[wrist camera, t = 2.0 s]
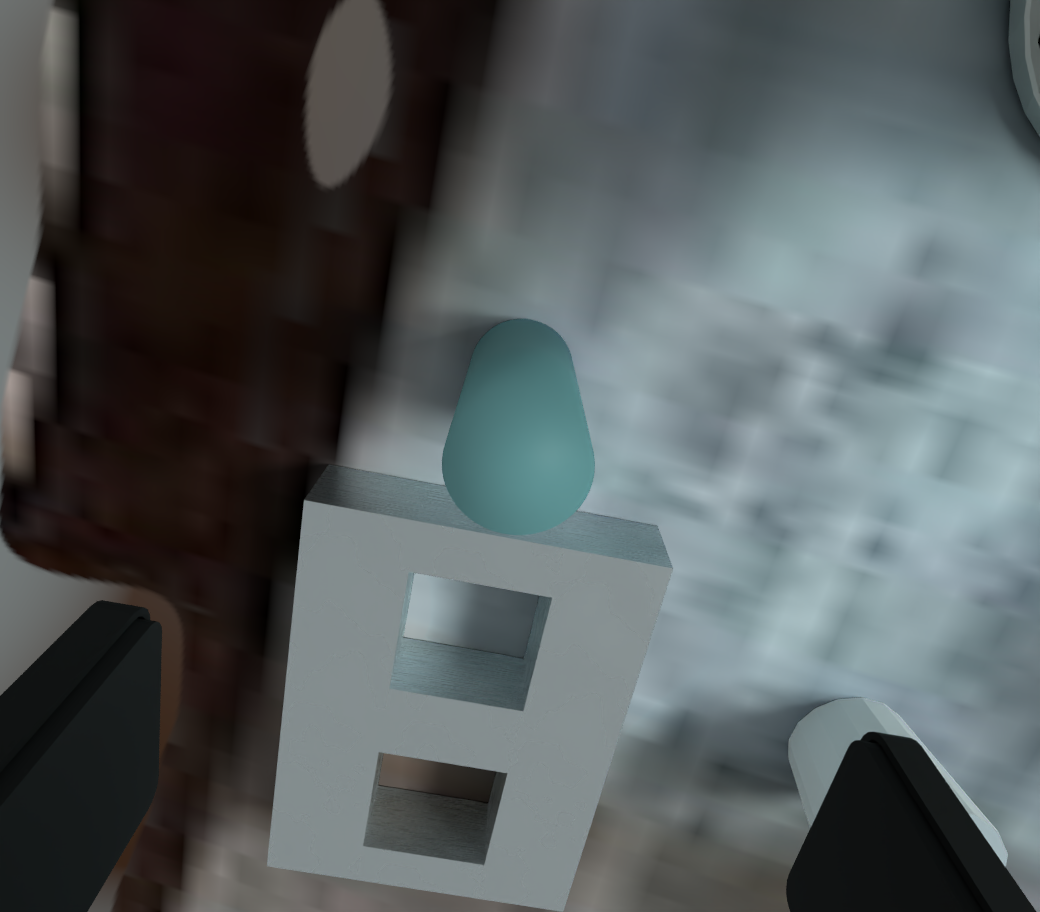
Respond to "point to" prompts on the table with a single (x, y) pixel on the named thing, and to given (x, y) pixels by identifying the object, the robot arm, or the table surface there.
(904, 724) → the grey cup
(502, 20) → the table surface
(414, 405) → the table surface
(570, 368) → the peg
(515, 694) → the block
